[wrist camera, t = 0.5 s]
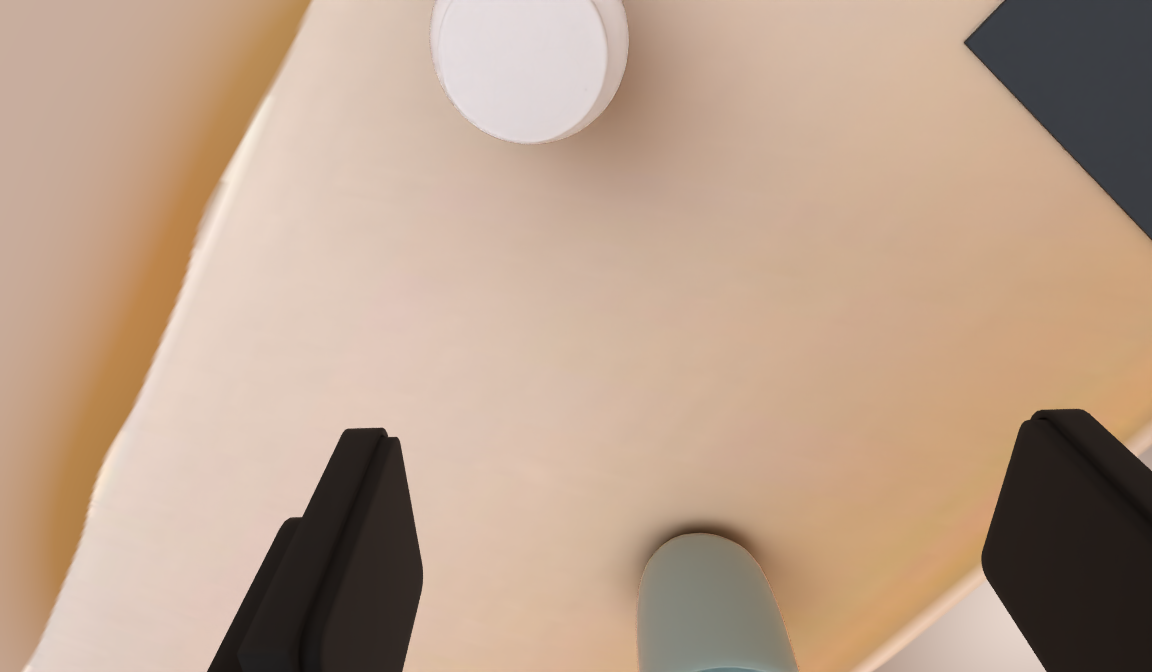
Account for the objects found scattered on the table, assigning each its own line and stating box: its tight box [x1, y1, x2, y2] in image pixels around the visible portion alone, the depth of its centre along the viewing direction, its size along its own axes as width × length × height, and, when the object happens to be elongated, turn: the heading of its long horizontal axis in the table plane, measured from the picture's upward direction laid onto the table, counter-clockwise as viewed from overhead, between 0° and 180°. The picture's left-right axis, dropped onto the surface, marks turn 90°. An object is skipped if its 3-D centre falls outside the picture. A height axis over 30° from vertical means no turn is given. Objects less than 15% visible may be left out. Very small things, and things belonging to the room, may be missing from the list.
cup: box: [636, 533, 800, 672], centre depth 39 cm, size 8×8×10 cm
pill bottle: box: [430, 0, 629, 144], centre depth 25 cm, size 6×6×11 cm
